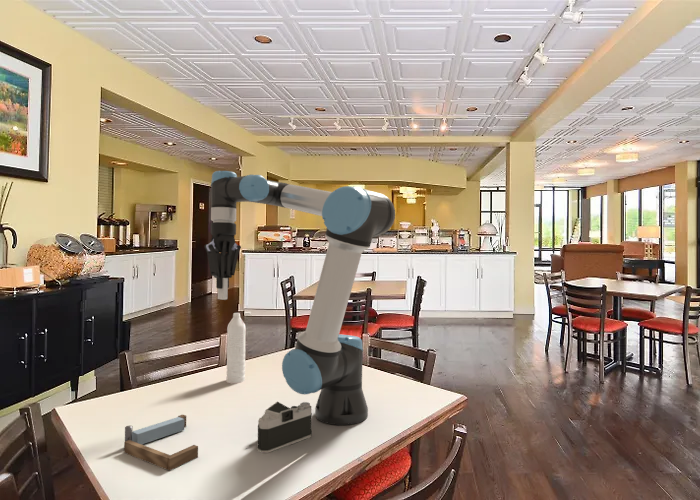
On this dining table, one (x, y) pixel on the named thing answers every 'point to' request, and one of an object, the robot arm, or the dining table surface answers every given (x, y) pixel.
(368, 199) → the robot arm
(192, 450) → the left rail
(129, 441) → the back rail
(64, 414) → the dining table surface
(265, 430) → the camera
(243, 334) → the water bottle
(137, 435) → the leg bar
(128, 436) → the pivot pin
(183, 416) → the stop block
